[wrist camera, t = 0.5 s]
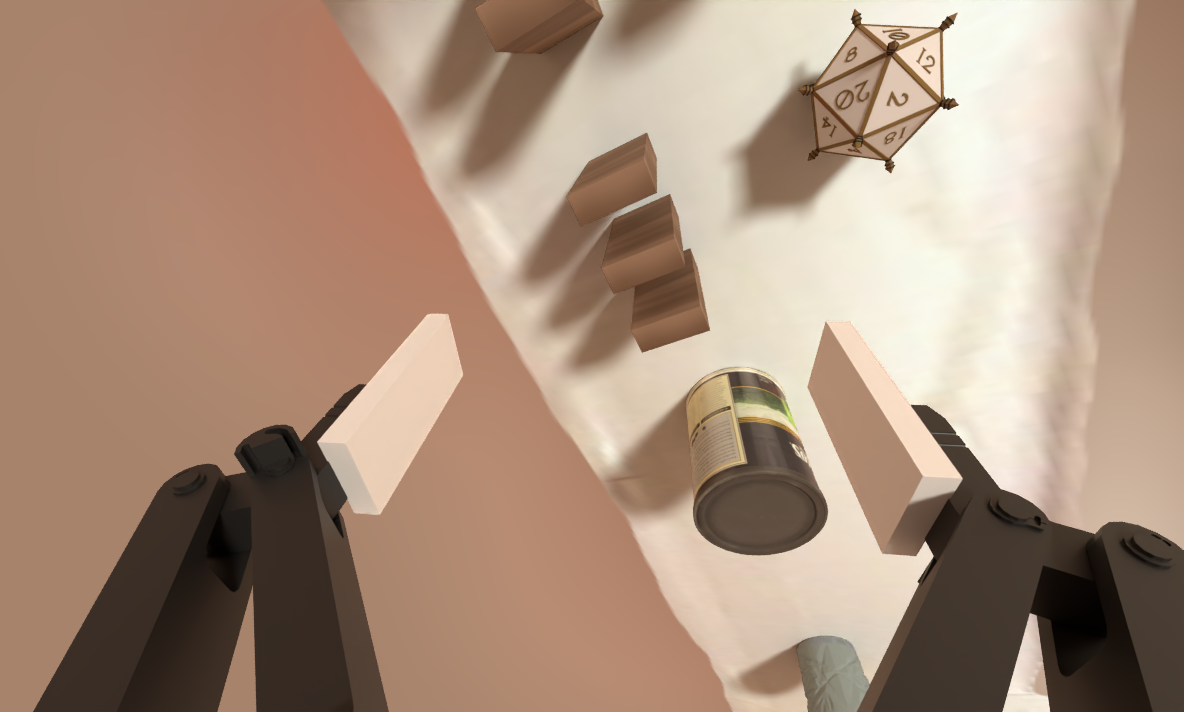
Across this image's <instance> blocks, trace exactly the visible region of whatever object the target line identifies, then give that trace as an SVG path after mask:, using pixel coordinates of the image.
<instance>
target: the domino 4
mask: <svg viewBox="0 0 1184 712" xmlns="http://www.w3.org/2000/svg"><path fill="white" fill-rule="evenodd" d="M683 253H684V260H685V267H684V268H681V269H678V270H676V271H673V272H671V273H668V274H665V275H663V276H660V277H657V278H655V279H652V280H650V281H647V282H644V283H642V284H639V285H637V286H635V295H634V306H633V317H632V328H631V331H632V333H633V335H634V337H635V339H636V341H637V343H638V345H639V347H640V349H641V351H642V353H643V352H646V351H649V350H652V349H655V348H658V347H661V346H664V345H667V344H670V343H673V342H676V341H679V340H682V339H685V338H688V337H691V336H694V335H697V334H700V333H703V332H706V331H710V328H709V323H708V318H707V313H706V308H705V303H704V298H703V293H702V288H701V283H700V277H699V272H698V268H697V265H696V263H695V260H694V257H693V254H692V252H691V249H688V250H685V251H683Z"/></svg>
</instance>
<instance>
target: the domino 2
mask: <svg viewBox="0 0 1184 712" xmlns="http://www.w3.org/2000/svg"><path fill="white" fill-rule="evenodd" d="M655 193H657V158H656V155H655V153H654V150H653V147H652V145H651V142H650V139H649V137H648V134H647V133H645V134H643V135H641V136H639V137H637V138H635V139H633V140H631V141H629V142H627V143H625V144H623V145H621V146H619V147H617V148H615V149H613V150H611V151H609V152H607V153H605V154H603V155H601V156H599V157H597V158H595V159H593V160H591V161H589V162H588V164H587V165H586V167H585V168H584V170H583V171H582V173H581V175H580V176H579V178H578V179H577V181H576V182H575V184H574V185H573V187H572V188H571V190H570V192H569V193H568V195H567V196H566V197H567V199H568V201H569V203H570V205H571V207H572V209H573V211H574V213H575V215H576V217H577V219H578V221H579V223H580V225H581V226H584V225H586V224H588V223H590V222H592V221H595V220H597V219H599V218H601V217H604V216H606V215H608V214H610V213H613V212H615V211H617V210H619V209H622V208H624V207H626V206H628V205H630V204H633V203H635V202H637V201H639V200H642V199H644V198H646V197H648V196H651V195H653V194H655Z"/></svg>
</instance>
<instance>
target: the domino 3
mask: <svg viewBox="0 0 1184 712" xmlns="http://www.w3.org/2000/svg"><path fill="white" fill-rule="evenodd" d="M684 267H685V260H684V253H683V246H682V239H681V232H680V225H679V218H678V214H677V212H676V209H675V206H674V204H673V201H672V198H671V196H670V194H669V195H667V196H665V197H662V198H660V199H658V200H655V201H653V202H651V203H649V204H646V205H644V206H642V207H640V208H637V209H635V210H633V211H631V212H628V213H626V214H624V215H622V216H619V217H617V218H615V219H614V222H613V225H612V229H611V233H610V237H609V241H608V245H607V248H606V252H605V256H604V260H603V264H602V268H601V269H602V271H603V273H604V275H605V277H606V279H607V281H608V283H609V285H610V287H611V289H612V291H613V294H616V293H618V292H621V291H623V290H626V289H629V288H631V287H634V286H637V285H639V284H642V283H644V282H647V281H650V280H652V279H655V278H657V277H660V276H663V275H665V274H668V273H671V272H673V271H676V270H678V269H681V268H684Z"/></svg>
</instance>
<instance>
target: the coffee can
mask: <svg viewBox="0 0 1184 712" xmlns="http://www.w3.org/2000/svg"><path fill="white" fill-rule="evenodd" d="M686 414H687V420H688V432H689V444H690V457H691V470H692V482H693V495H694V506H693V517H694V522H695V525H696V527H697V529H698V531H699V532H700V533H701V535H702V536H703V537H704V538H705V539H707V540H708V541H709V542H711V543H712V544H714V545H716V546H718V547H720V548H722V549H725V550H728V551H731V552H735V553H739V554H745V555H771V554H777V553H782V552H786V551H790V550H793V549H795V548H798V547H800V546H802V545H804V544H805V543H807V542H809V541H810V540H811V539H813V538H814V537H815V536H816V535H817V534H818V533H819V532H820V531H821V530H822V528H823V527H824V525H825V523H826V520H827V515H828V508H827V503H826V500H825V498H824V496H823V494H822V492H821V490H820V489H819V487H818V485H817V482H816V479H815V476H814V474H813V471H812V468H811V466H810V463H809V461H808V458H807V455H806V453H805V450H804V447H803V445H802V442H801V439H800V437H799V434H798V431H797V429H796V426H795V423H794V421H793V418H792V415H791V413H790V410H789V407H788V405H787V402H786V398H785V394H784V391H783V389H782V388H781V386H780V385H779V384H778V382H777V381H776V380H774V379H773V378H772V377H771V376H769V375H768V374H766V373H764V372H762V371H759V370H756V369H751V368H744V367H734V368H726V369H721V370H719V371H716V372H713V373H711V374H709V375H707V376H706V377H704V378H703V379H701V380H700V381H699V382H698V383H697V384H696V385H695V386H694V387H693V388H692V390H691V391H690V393H689V395H688V398H687V401H686Z"/></svg>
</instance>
